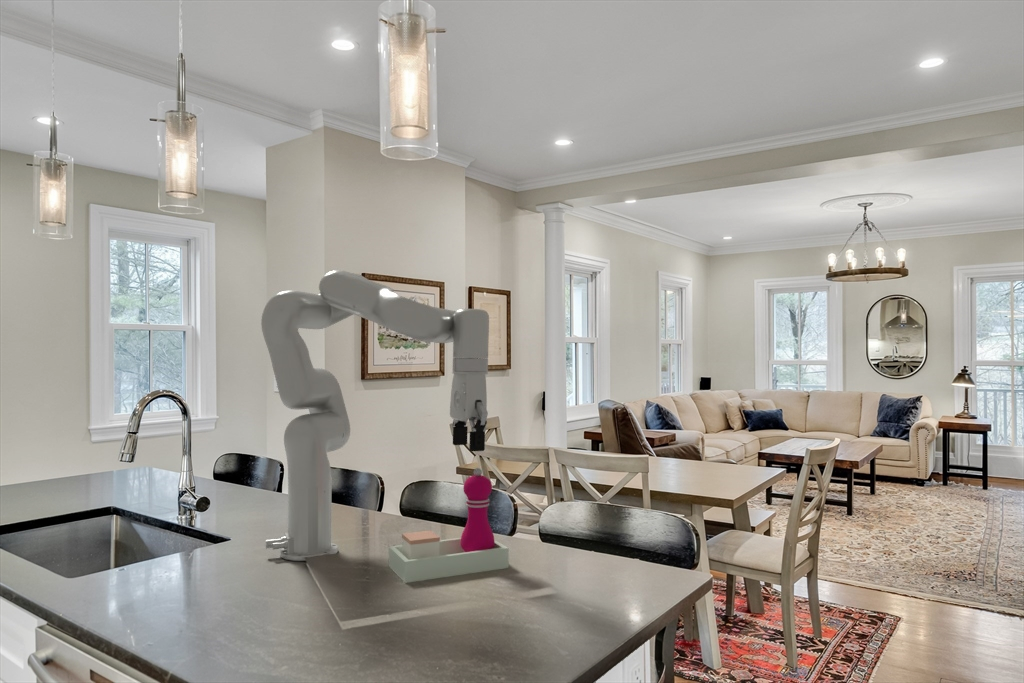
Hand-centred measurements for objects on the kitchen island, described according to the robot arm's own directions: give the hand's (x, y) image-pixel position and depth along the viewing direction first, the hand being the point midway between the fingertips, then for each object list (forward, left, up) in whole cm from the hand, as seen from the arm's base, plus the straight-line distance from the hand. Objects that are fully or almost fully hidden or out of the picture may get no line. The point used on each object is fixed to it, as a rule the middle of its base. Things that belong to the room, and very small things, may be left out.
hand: (468, 447), depth 142 cm
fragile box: (-11, 0, -24) cm, 27 cm away
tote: (-5, 0, -25) cm, 26 cm away
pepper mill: (+2, -1, -25) cm, 25 cm away
